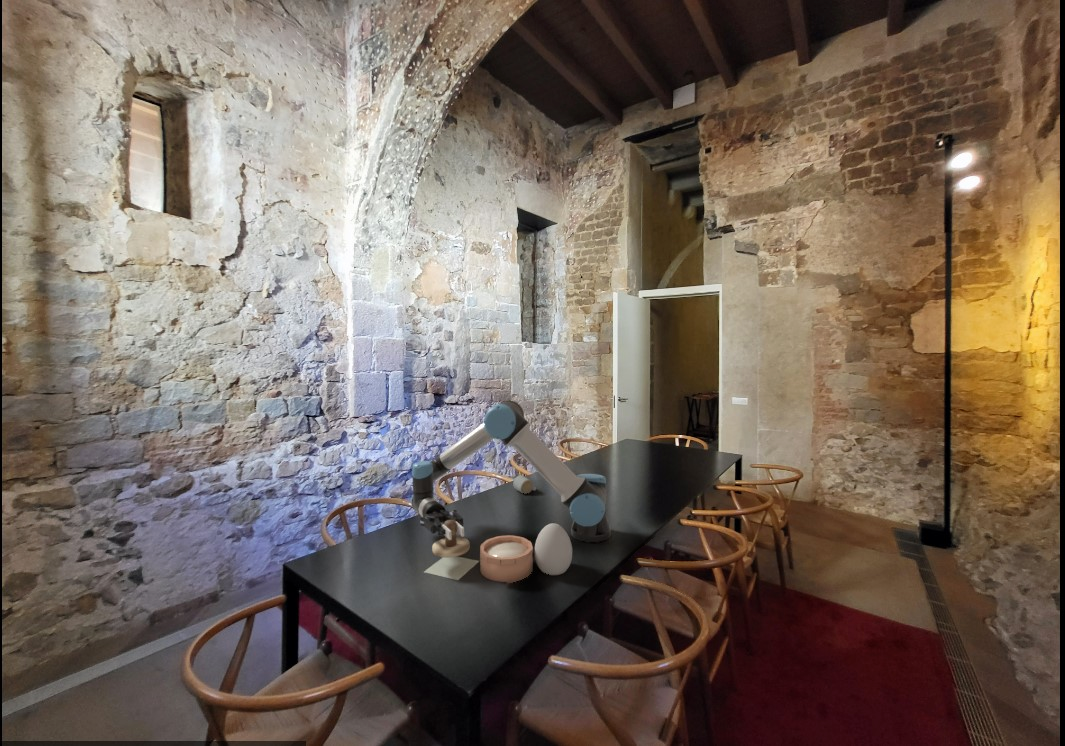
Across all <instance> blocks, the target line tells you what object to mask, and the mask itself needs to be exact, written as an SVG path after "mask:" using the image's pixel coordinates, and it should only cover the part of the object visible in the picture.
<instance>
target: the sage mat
mask: <svg viewBox="0 0 1065 746" xmlns="http://www.w3.org/2000/svg"><path fill="white" fill-rule="evenodd" d="M479 562H480V560H477V559H471V558H466V557H461V556H456V557H449V558H445V557H440V559H439V560H437V561H436V562H435V563H433V564H432V565H431V566H429V567H428V568H426V569H425V570H424V571H423V573H425V574H430V575H434V576H439V577H443V578H448V579H451V580H455V581H459V580H461V578H463V576H465V575H466V574H467V573H468V572H469V571H470V570H472V568H474V567H475V566H476V565H477V564H478V563H479Z"/></svg>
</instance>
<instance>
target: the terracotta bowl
mask: <svg viewBox="0 0 1065 746" xmlns="http://www.w3.org/2000/svg"><path fill="white" fill-rule="evenodd" d="M479 547H480V549H479V550H480V552H479V562H480V569H479V570H480V573H481V575H482V576H483V577H485V578H487V579H488V580H491V581H495V582H498V583H499V582H502V583H505V582H506V584H514V583H513V582H515V583H517V582H516V581H519V580H522V579H524V578H526V577H527V578H529V577H530V576H531V575H530V574H532V573H533V571H534V569H533V568H534V565H533V563H534V561H533V559H534V558H533V553H534V547H533V544H532V542H531V540H528V539H527V538H525V537H522V536H518V535H511V534H509V535H499V536H498V535H497V536H495V537H491V538H487V539H486V540H485V541H483V543H482V542H481V544H480V546H479ZM531 572H532V573H531ZM529 575H530V576H529ZM528 576H529V577H528ZM527 578H526V579H527ZM524 580H525V579H524ZM522 581H523V580H522ZM519 582H520V581H519Z"/></svg>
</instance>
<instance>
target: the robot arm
mask: <svg viewBox="0 0 1065 746" xmlns="http://www.w3.org/2000/svg"><path fill="white" fill-rule="evenodd" d="M494 439H496V440H499V441H501V442H502V443H503V445H505V447H512V448H513V449H514V450H515V451H517V452H518V453H519V454H520V455H521V457H523V459H524V460H525V461H526V462H527V463H528V464H529V465H530V466H532V468H534V470H535V471H536V472H537V473H538V474H540V476H541V477H542V478H543V479H544V480H545V481H546V482H548V484H549V485H550V486H551V487H552V488H554V490H555V491H556V492H557V493H558V494H559V495H560V501H561V503H562V504H563V505H564V506H565V508H567V509H568V510H569V515H570V517H571V519H572V524H571V526H570V527H571V529H570V532H571V533H570V535H571V537H572V538H574V539H575V540H578V541H579V542H583V541H585V542H584V543H590V542H596V543H600V542H599V541H603V540H606V539H608V538H609V537H610V536H612V528H611V525H610V522H609V520H608V517H607V478H606V477H605V476H604V475H601V474H599V473H597V474H596V473H580V474H577V475H576V474H575V473H574V472H573V471H572V470H571V469H570V468H569V467H568V466H567V465H566V464H565V463H564V462H563V461H562V460H561V459H560V458H559V457H558V456H557V455H556V454H555V453H554V452H553V451H552V450H551V449H550V448H549V447H548V446H547V445H546V443H544V442H543V441H542V440H541V439H540V438H539V437H538V436H537V435H536V434H535V433H534V432H533V431H532V430H531V429H530V422H529V421H528V420H527V419H526V418H525V412H524V409H523V408H522V406H521V404H519V403H518V402H517V401H514V400H510V399H509V400H504V401H501V402H499V403H497V404H494V405H493V406H491V407H490V408H489V409H488V411H486V413H485V415H484V418H483V422H482V423H481V424H480V425H478V426H477V427H475V428H474V429H473V430H471V431H470V432H468V433H467V434H466V435H465V436H463V437H461V439H459V440H458V441H456V442H455V443H453V444H452V445H451V446H449V447H448V448H447V449H445V450H444V451H443V452H442V453H440V454H439V455H437V456H436V457H434V458H433V459H432V460H430V461H429V460H420V461H416V462H414V463H413V464H412V471H411V477H412V495H411V498H410V504H411V507H412V509H413V510H414V511H415V512H417V513H418V515H420V516H421V517H420V518H419V520H420V521H419V522H420V526H422V527H424V528H426V529H427V530H428V531H429V532H430V533H431V534H436V532H437V535H438V536H444V537H445V536H446V537H447V538H448V539H449V540H452V535H451V530H450V529H449V528H447V527H446V526H445V521H447V520H455V521H456V534H458V535H460V537H462V538H464V537H465V527H464V517H462V516H461V515H460V514H459V513H458V511H457V509H453V511H451V512H450V511H449V510H446V507H444V505H443V504H441V503H440V502H439V501H438V500H436V499H435V495H434V482H435V481H437V480H439V478H441V477H444V475H446V474H447V473H448V472H450V471H451V470H452V469H453V468H456V466H458V465H460V464H461V463H462V462H463V461H465V460H467V458H469V457H470V456H472V455H473V454H474V453H476V452H477V451H478V450H480V449H481V448H483V447H485V446H486V445H487V444H489V443H490V442H491V441H493V440H494ZM442 523H443V524H442ZM610 538H611V537H610ZM610 538H609V539H610ZM609 539H608V540H609ZM606 541H607V540H606ZM603 542H604V541H603Z"/></svg>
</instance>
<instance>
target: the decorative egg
mask: <svg viewBox="0 0 1065 746" xmlns="http://www.w3.org/2000/svg"><path fill="white" fill-rule="evenodd" d="M533 553H534V560H535V563H536V566H537V567H538V568H539V570H541V573H544V574H545V573H546V574H545V575H548V574H549V576H559V575H562V574H564V573H565V572H566V571H567V570H568V569H569V567H570V566H571V563H572V559H573V546H572V542H571V538H570V536H569V534H568V533H567V531H566V530H565V529H564V527H563V526H561V525H560V524H558V523H554V522H553V523H548V524H547V525H545V526H544V527H543V528H542V529H541V530H540V532H539V533H538V535H537V538H536V539H535V544H534V550H533Z"/></svg>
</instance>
